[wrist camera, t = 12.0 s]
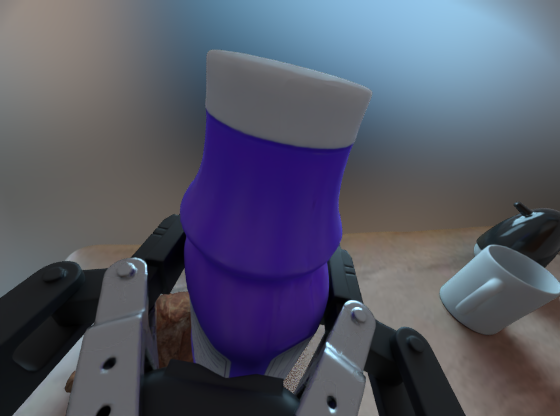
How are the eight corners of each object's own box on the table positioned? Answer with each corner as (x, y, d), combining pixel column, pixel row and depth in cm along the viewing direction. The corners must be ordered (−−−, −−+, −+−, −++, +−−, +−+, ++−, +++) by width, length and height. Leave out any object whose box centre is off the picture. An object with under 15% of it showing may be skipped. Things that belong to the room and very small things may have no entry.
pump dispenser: (463, 241, 52) (514, 188, 43) (515, 266, 48) (584, 213, 39) (464, 265, 44) (527, 208, 36) (526, 297, 40) (614, 241, 32)
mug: (454, 280, 40) (500, 239, 34) (505, 323, 34) (572, 284, 28) (417, 300, 35) (463, 255, 28) (471, 355, 29) (544, 315, 23)
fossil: (238, 281, 27) (206, 274, 18) (247, 358, 24) (214, 397, 15) (142, 302, 27) (61, 306, 18) (137, 382, 24) (35, 436, 15)
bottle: (295, 388, 14) (501, 117, 4) (208, 447, 11) (217, 57, 1) (253, 295, 19) (304, 66, 9) (185, 320, 16) (150, 29, 6)
